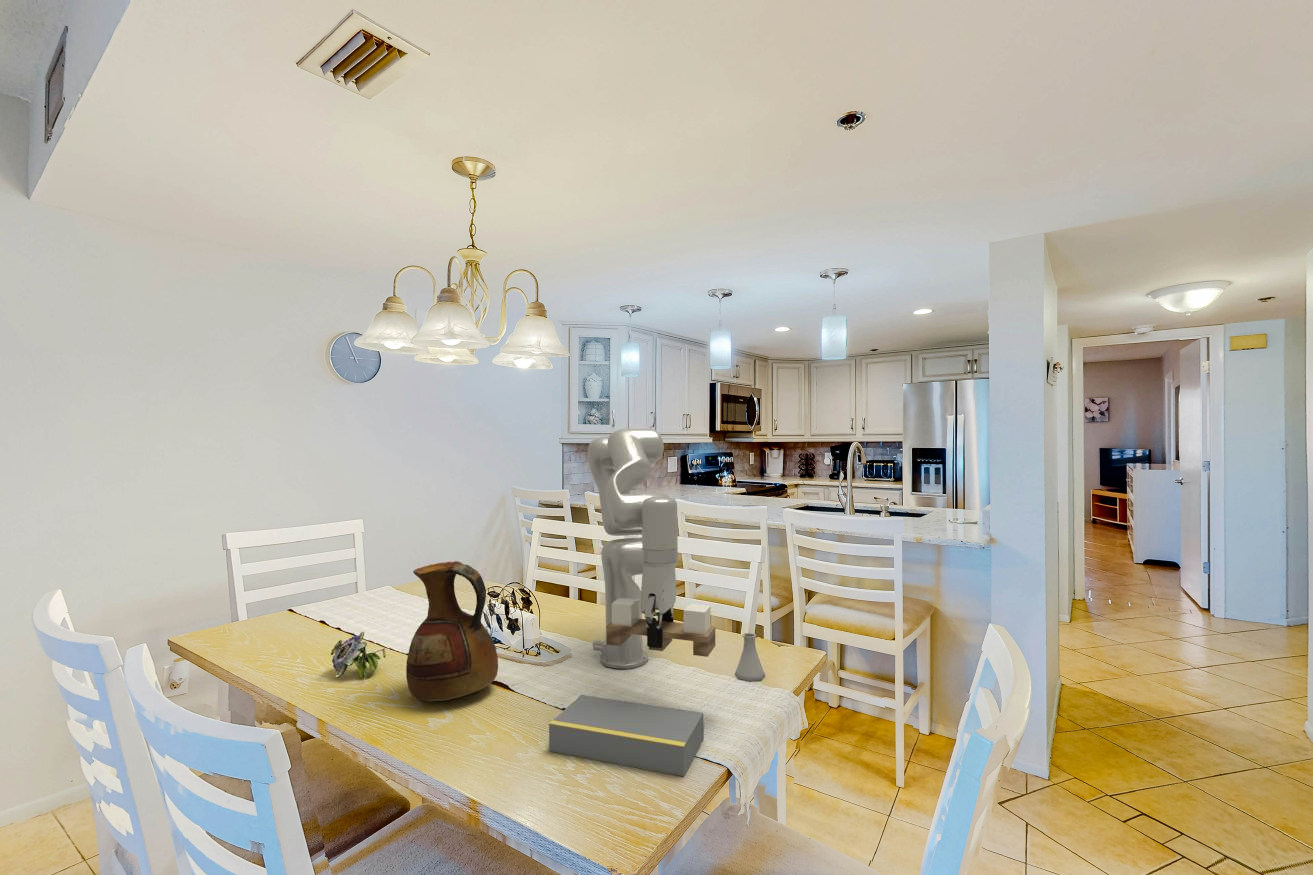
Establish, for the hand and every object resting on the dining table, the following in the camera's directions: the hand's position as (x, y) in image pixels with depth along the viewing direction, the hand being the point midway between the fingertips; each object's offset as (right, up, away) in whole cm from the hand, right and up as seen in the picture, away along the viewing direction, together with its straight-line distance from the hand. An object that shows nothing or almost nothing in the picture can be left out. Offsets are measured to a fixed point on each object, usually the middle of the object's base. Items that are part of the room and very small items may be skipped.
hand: (660, 640), depth 121 cm
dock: (-6, -15, -13) cm, 21 cm away
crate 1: (-8, +3, +3) cm, 9 cm away
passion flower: (-76, -17, +23) cm, 81 cm away
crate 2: (+7, +3, -3) cm, 9 cm away
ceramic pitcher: (-48, -16, +11) cm, 51 cm away
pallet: (0, -1, 0) cm, 1 cm away
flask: (+22, -15, +19) cm, 33 cm away
